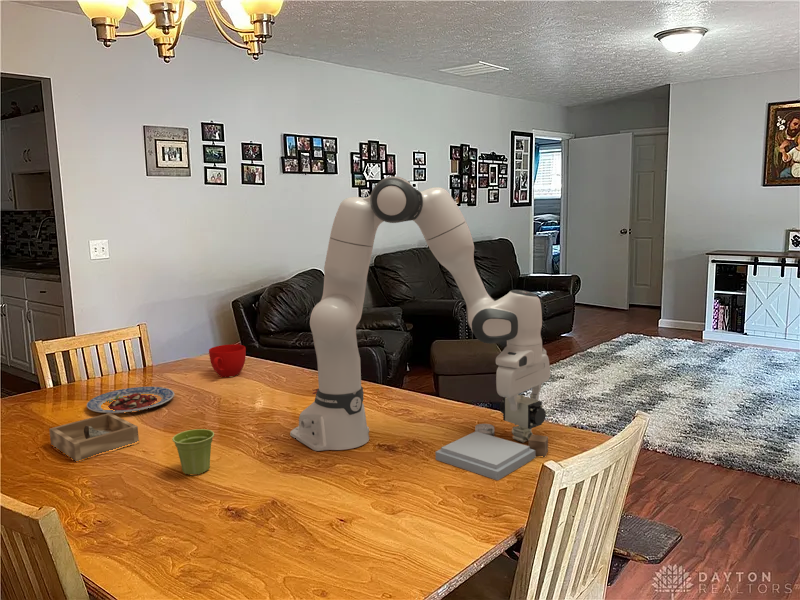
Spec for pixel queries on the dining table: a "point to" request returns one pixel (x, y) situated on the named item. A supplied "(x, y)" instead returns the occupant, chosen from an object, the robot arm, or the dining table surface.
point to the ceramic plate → (130, 399)
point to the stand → (486, 455)
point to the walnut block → (539, 444)
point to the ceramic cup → (227, 359)
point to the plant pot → (194, 450)
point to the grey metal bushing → (485, 429)
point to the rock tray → (80, 448)
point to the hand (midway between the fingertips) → (524, 405)
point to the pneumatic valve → (523, 416)
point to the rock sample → (92, 432)
